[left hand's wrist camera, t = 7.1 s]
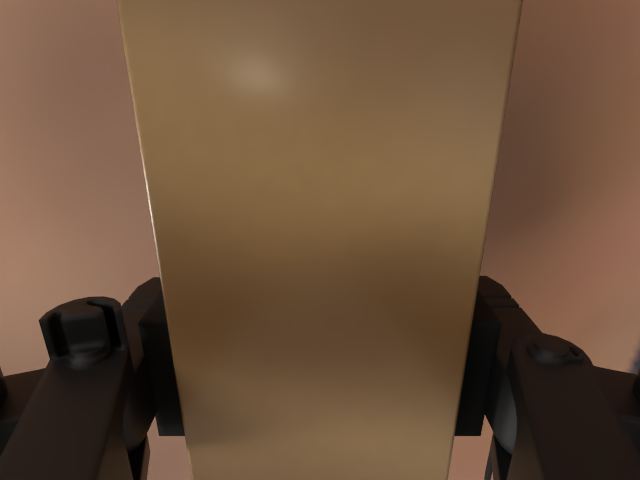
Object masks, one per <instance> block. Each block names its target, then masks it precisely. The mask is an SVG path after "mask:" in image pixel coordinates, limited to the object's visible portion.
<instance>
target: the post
mask: <svg viewBox="0 0 640 480" xmlns="http://www.w3.org/2000/svg"><path fill="white" fill-rule="evenodd" d="M522 2H523V0H117V6H118V12H119V19H120V25H121V32H122V38H123V44H124V51H125V57H126V63H127V70H128V76H129V82H130V89H131V95H132V101H133V108H134V114H135V121H136V127H137V133H138V140H139V146H140V152H141V159H142V165H143V171H144V178H145V184H146V191H147V197H148V203H149V210H150V216H151V222H152V229H153V235H154V241H155V248H156V254H157V261H158V267H159V273H160V280H161V286H162V292H163V299H164V305H165V311H166V318H167V324H168V331H169V337H170V343H171V350H172V356H173V362H174V369H175V375H176V381H177V388H178V394H179V401H180V407H181V413H182V420H183V426H184V432H185V439H186V445H187V451H188V458H189V464H190V471H191V477H192V480H447V479H448V473H449V467H450V460H451V454H452V448H453V441H454V435H455V428H456V422H457V416H458V409H459V403H460V397H461V390H462V384H463V378H464V371H465V365H466V358H467V352H468V346H469V339H470V333H471V327H472V320H473V314H474V308H475V301H476V295H477V288H478V282H479V276H480V269H481V263H482V257H483V250H484V244H485V238H486V231H487V225H488V218H489V212H490V206H491V199H492V193H493V187H494V180H495V174H496V168H497V161H498V155H499V148H500V142H501V136H502V129H503V123H504V117H505V110H506V104H507V98H508V91H509V85H510V78H511V72H512V66H513V59H514V53H515V47H516V40H517V34H518V28H519V21H520V15H521V8H522Z"/></svg>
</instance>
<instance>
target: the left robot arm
mask: <svg viewBox="0 0 640 480" xmlns="http://www.w3.org/2000/svg"><path fill="white" fill-rule="evenodd" d="M39 323H40V326H41V330H42V333H43V337H44V340H45V343H46V347H47V350H48V354H49V357H50V361H49V363H48V365H47V367H46V368H43V369H39V370H35V371H29V372H24V373H19V374H14V375H9V376H3V374H2V371H1V368H0V480H147V472H148V464H149V457H150V448H149V442H148V437H147V432H148V430H149V428H150V425H151V423H152V421H153V419H154V417H155V416H156V422H157V427H158V432H159V436H185V432H184V426H183V420H182V413H181V407H180V401H179V394H178V388H177V381H176V375H175V369H174V362H173V356H172V350H171V343H170V337H169V331H168V324H167V318H166V311H165V305H164V299H163V292H162V286H161V280H160V277H153V278H152V279H150V280H148V281H147V282H145V283H143V284H142V285H140V286H138V287H137V288H136V290H135V291H134V292H133V293H132V294H131V296H130V297H129V300H126V302H125V303H124V304H123V305H122V306H121V304H120V303H119V302H118V301H117V300H115V299H113V298H108V297H87V298H82V299H77V300H73V301H70V302H67V303H64V304H61V305H59V306H57V307H55V308H54V309H52V310H50V311H48V312H47V313H46V314H45V315H44V316H43V317H42V318H41V319H40V320H39ZM484 415H486V418H487V420H488V422H489V424H490V426H491V428H492V430H493V437H492V442H491V446H490V451H489V456H488V461H487V466H486V471H485V478H484V480H490V479H491V475H492V471H493V479H494V480H640V367H639V370H638V373H637V375H636V374H631V373H626V372H620V371H615V370H610V369H605V368H600V367H596V366H593V364H592V362H591V360H590V358H589V357H588V356H587V355H586V354H585V352H584V351H583V350H582V349H580V348H579V347H577V346H576V345H574V344H573V343H571V342H569V341H567V340H564V339H562V338H559V337H557V336H553V335H548V334H544V333H542V332H541V331H540V330H539V328H538V327H537V326H536V325H535V324H534V322H533V321H532V320H531V319H530V318H529V317H528V315H527V314H526V313H525V312H524V311H523V309H522V308H519V305H518V304H517V302H516V301H515V300H514V299H513V298H511V295H510V294H509V293H508V292H507V290H506V289H505V288H504V287H503V286H502V285H501V284H499V283H497V282H496V281H494V280H492V279H491V278H489V277H487V276H479V282H478V288H477V295H476V301H475V308H474V314H473V320H472V327H471V333H470V339H469V346H468V352H467V358H466V365H465V371H464V378H463V384H462V390H461V397H460V403H459V409H458V416H457V422H456V428H455V435H454V436H481V431H482V425H483V420H484Z"/></svg>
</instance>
